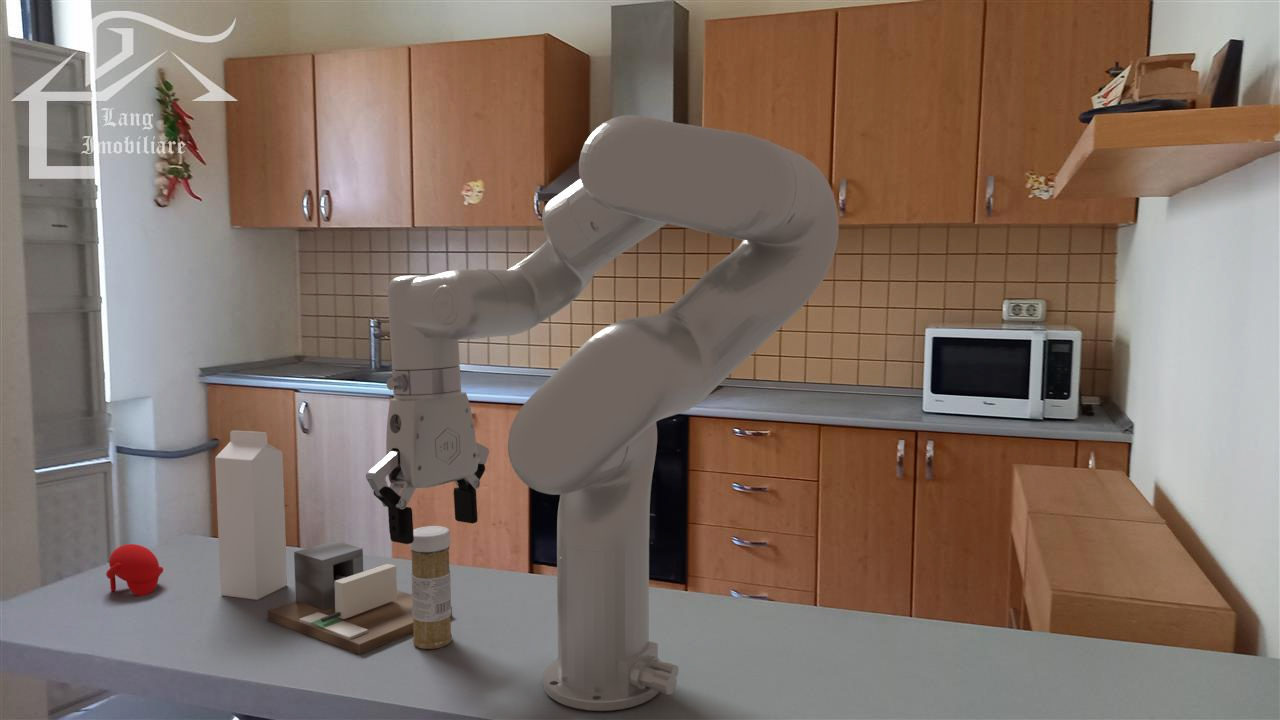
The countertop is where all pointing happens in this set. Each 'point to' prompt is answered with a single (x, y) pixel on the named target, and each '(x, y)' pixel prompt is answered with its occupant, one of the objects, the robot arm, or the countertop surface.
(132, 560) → the cap
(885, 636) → the countertop surface
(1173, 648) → the countertop surface
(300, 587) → the gauge frame
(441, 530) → the sprinkles bottle
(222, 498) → the milk
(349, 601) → the spring plunger
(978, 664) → the countertop surface
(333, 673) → the countertop surface
